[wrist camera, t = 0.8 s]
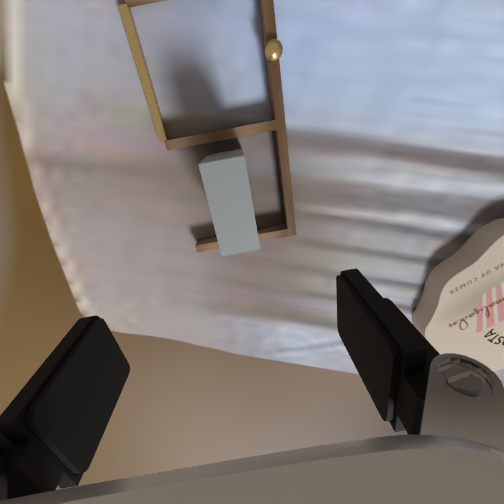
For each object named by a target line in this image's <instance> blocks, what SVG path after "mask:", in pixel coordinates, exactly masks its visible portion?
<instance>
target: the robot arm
mask: <svg viewBox="0 0 504 504" xmlns="http://www.w3.org/2000/svg"><path fill="white" fill-rule="evenodd" d="M336 286H337V325H338V332H339V335H340V337H341V339H342V341H343V343H344V345H345V347H346V349H347V351H348V353H349V355H350V357H351V359H352V361H353V363H354V365H355V367H356V369H357V371H358V373H359V374H360V376H361V378H362V380H363V382H364V384H365V386H366V388H367V390H368V392H369V394H370V396H371V398H372V400H373V402H374V403H375V406H376V408H377V410H378V412H379V413H380V415H381V417H382V419H383V420H384V421H389V422H390V423H391V425H392V427H393V429H394V431H395V432H397V431H403V430H406V431H407V433H408V435H397V436H386V437H376V438H369V439H362V440H355V441H348V442H341V443H334V444H327V445H320V446H314V447H308V448H302V449H296V450H290V451H284V452H278V453H271V454H266V455H260V456H253V457H247V458H241V459H235V460H229V461H223V462H218V463H212V464H205V465H199V466H193V467H187V468H181V469H175V470H170V471H164V472H158V473H152V474H146V475H141V476H134V477H129V478H124V479H117V480H112V481H106V482H100V483H94V484H89V485H83V486H78V484H79V481H80V480H81V477H82V475H83V473H84V472H86V471H87V469H88V468H89V466H90V464H91V462H92V459H93V457H94V454H95V452H96V450H97V447H98V445H99V443H100V440H101V438H102V436H103V434H104V431H105V429H106V426H107V424H108V422H109V419H110V417H111V415H112V412H113V410H114V408H115V405H116V403H117V401H118V398H119V396H120V394H121V391H122V389H123V386H124V384H125V382H126V380H127V377H128V375H129V372H130V366H129V363H128V361H127V360H126V358H125V356H124V354H123V353H122V351H121V349H120V347H119V345H118V344H117V342H116V340H115V338H114V336H113V335H112V333H111V331H110V329H109V328H108V326H107V324H106V322H105V321H104V319H102V318H100V317H98V316H90V317H85V318H81V319H79V320H78V321H77V322H76V323H75V325H74V326H73V327H72V328H71V330H70V331H69V332H68V333H67V335H66V336H65V337H64V338H63V339H62V341H61V342H60V343H59V344H58V346H57V347H56V348H55V349H54V350H53V352H52V353H51V354H50V355H49V357H48V358H47V359H46V360H45V361H44V363H43V364H42V365H41V366H40V368H39V369H38V370H37V371H36V373H35V374H34V375H33V376H32V378H31V379H30V380H29V381H28V382H27V384H26V385H25V386H24V387H23V389H22V390H21V391H20V392H19V394H18V395H17V396H16V397H15V398H14V400H13V401H12V402H11V403H10V405H9V406H8V407H7V408H6V409H5V411H4V412H3V413H2V414H1V416H0V504H504V388H503V385H502V382H501V380H500V379H499V378H498V376H497V375H496V374H495V373H494V372H493V371H492V370H491V369H490V368H488V367H487V366H486V365H484V364H482V363H481V362H479V361H477V360H475V359H473V358H470V357H468V356H465V355H460V354H455V353H445V354H441V355H440V354H439V352H438V351H437V350H436V349H435V348H434V347H433V346H432V345H431V344H430V343H429V342H428V340H427V339H426V338H425V337H424V336H423V335H422V334H421V333H420V332H419V331H418V330H417V328H416V327H415V326H414V325H413V324H412V323H411V322H410V321H409V320H408V319H407V318H406V316H405V315H404V314H403V313H402V312H401V311H400V310H399V309H398V308H397V307H396V306H395V304H394V303H393V302H392V301H391V300H389V299H387V298H383V297H382V296H381V295H380V294H379V293H378V292H377V291H376V289H375V288H374V287H373V286H372V285H371V284H370V283H369V282H368V280H367V279H366V278H365V277H364V276H363V275H362V274H361V273H360V271H359V270H358V269H350V270H345V271H341V274H340V275H338V276H337V277H336ZM57 486H59V487H60V488H66V489H61V490H56V488H57ZM73 486H77V487H73ZM67 487H72V488H67Z"/></svg>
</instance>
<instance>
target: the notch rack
mask: <svg viewBox="0 0 504 504" xmlns="http://www.w3.org/2000/svg"><path fill="white" fill-rule="evenodd" d="M124 1H125V2H126V4H121V5H118V7H119V10H120V13H121V17H122V20H123V23H124V26H125V30H126V33H127V36H128V40H129V43H130V46H131V49H132V53H133V56H134V59H135V62H136V66H137V69H138V72H139V75H140V79H141V82H142V85H143V89H144V92H145V95H146V98H147V102H148V105H149V108H150V111H151V115H152V118H153V121H154V124H155V128H156V131H157V134H158V138H159V141H160V142H161V141H164V142H165V145H166V149H167V151H169V150H174V149H180V148H185V147H190V146H195V145H201V144H206V143H211V142H217V141H222V140H227V139H232V138H238V137H243V136H248V135H254V134H259V133H264V132H270V131H274V134H275V143H276V151H277V160H278V168H279V177H280V185H281V194H282V202H283V211H284V219H285V224H281V225H275V226H270V227H264V228H259V229H257V232H258V238H259V241H265V240H270V239H276V238H281V237H287V236H292V235H296V227H295V217H294V206H293V196H292V186H291V176H290V166H289V156H288V145H287V135H286V125H285V115H284V105H283V94H282V84H281V74H280V64H279V58H280V56H281V54H282V45H281V43H280V41H278V40H277V33H276V23H275V13H274V3H273V0H259V6H260V15H261V23H262V32H263V40H264V49H265V58H266V66H267V75H268V83H269V92H270V100H271V109H272V117H273V120H272V121H266V122H261V123H256V124H251V125H245V126H240V127H235V128H229V129H224V130H219V131H214V132H208V133H203V134H198V135H193V136H187V137H182V138H177V139H172V140H168V136H167V133H166V130H165V126H164V123H163V119H162V116H161V112H160V109H159V106H158V102H157V99H156V95H155V92H154V88H153V85H152V81H151V78H150V75H149V71H148V68H147V64H146V61H145V57H144V54H143V51H142V47H141V44H140V40H139V37H138V33H137V30H136V27H135V23H134V20H133V16H132V13H131V9H130V7H134V6H138V5H143V4H148V3H153V2H158V1H163V0H124ZM196 249H197V253H198V252H204V251H209V250H215V249H220V248H219V244H218V240H217V236H215V237H209V238H204V239H198V240H197V243H196Z"/></svg>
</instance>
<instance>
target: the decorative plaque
mask: <svg viewBox="0 0 504 504" xmlns="http://www.w3.org/2000/svg"><path fill="white" fill-rule="evenodd" d="M412 322H413V325H414V326H415V327H416V328H417V330H418V331H419V332H420V333H421V334H422V335H423V336H424V337H425V338H426V339H427V340H428V342H429V343H430V344H431V345H432V346H433V347H434V348H435V349H436V350H437V351H438V352H439V354H440V355H441V354H445V353H455V354H460V355H465V356H468V357H470V358H473V359H475V360H477V361H479V362H481V363H482V364H484V365H486V366H487V367H488V368H490V369H491V370H492V371H493V372H494V371H497V370H500V369H502V368H504V218H500V219H496V220H493V221H491V222H489V223H487V224H485V225H484V226H482V227H480V228H479V229H478V230H477V231H476V232H475V233H474V234H473V235H472V236H471V237H470V238H469V239H468V240H467V241H466V242H465V243H464V245H463V246H462V247H461V248H460V249H459V250H458V251H457V252H456V253H454V254H453V255H452V256H450V257H449V258H447V259H445V260H444V261H442V262H441V263H439V264H438V265H437V266H436V267H434V269H433V270H432V271H431V272H430V273H429V275H428V277H427V279H426V282H425V287H424V291H423V295H422V297H421V299H420V302H419V304H418V306H417V308H416V310H415V311H414V313H413V315H412Z"/></svg>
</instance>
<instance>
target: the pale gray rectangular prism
mask: <svg viewBox="0 0 504 504" xmlns="http://www.w3.org/2000/svg"><path fill="white" fill-rule="evenodd" d="M198 165H199V169H200V173H201V177H202V181H203V185H204V189H205V193H206V197H207V201H208V205H209V209H210V213H211V216H212V220H213V224H214V228H215V232H216V236H217V240H218V244H219V248H220V252H221V256H226V255H232V254H237V253H243V252H248V251H254V250H259V249H260V244H259V238H258V232H257V226H256V220H255V214H254V209H253V203H252V197H251V191H250V185H249V180H248V174H247V168H246V162H245V156H244V153H243V151H242V148H240V149H234V150H229V151H224V152H218V153H213V154H208V155H207V156H206V157H205V158H204V159H203V160H202V161H201V162H200V163H199V164H198Z"/></svg>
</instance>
